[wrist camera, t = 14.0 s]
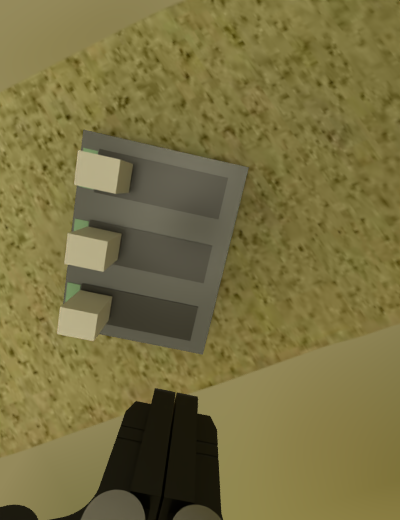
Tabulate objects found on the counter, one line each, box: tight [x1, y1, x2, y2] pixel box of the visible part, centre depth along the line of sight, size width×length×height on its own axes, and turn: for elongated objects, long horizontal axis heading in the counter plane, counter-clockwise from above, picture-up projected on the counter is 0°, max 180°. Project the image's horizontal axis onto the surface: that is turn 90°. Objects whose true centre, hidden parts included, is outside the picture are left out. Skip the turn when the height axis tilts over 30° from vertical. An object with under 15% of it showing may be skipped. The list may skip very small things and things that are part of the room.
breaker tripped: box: [64, 226, 122, 272], centre depth 25 cm, size 3×2×4 cm
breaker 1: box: [74, 150, 133, 194], centre depth 23 cm, size 3×2×4 cm
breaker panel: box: [63, 130, 249, 354], centre depth 28 cm, size 14×18×3 cm
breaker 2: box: [57, 290, 112, 341], centre depth 26 cm, size 3×2×4 cm
